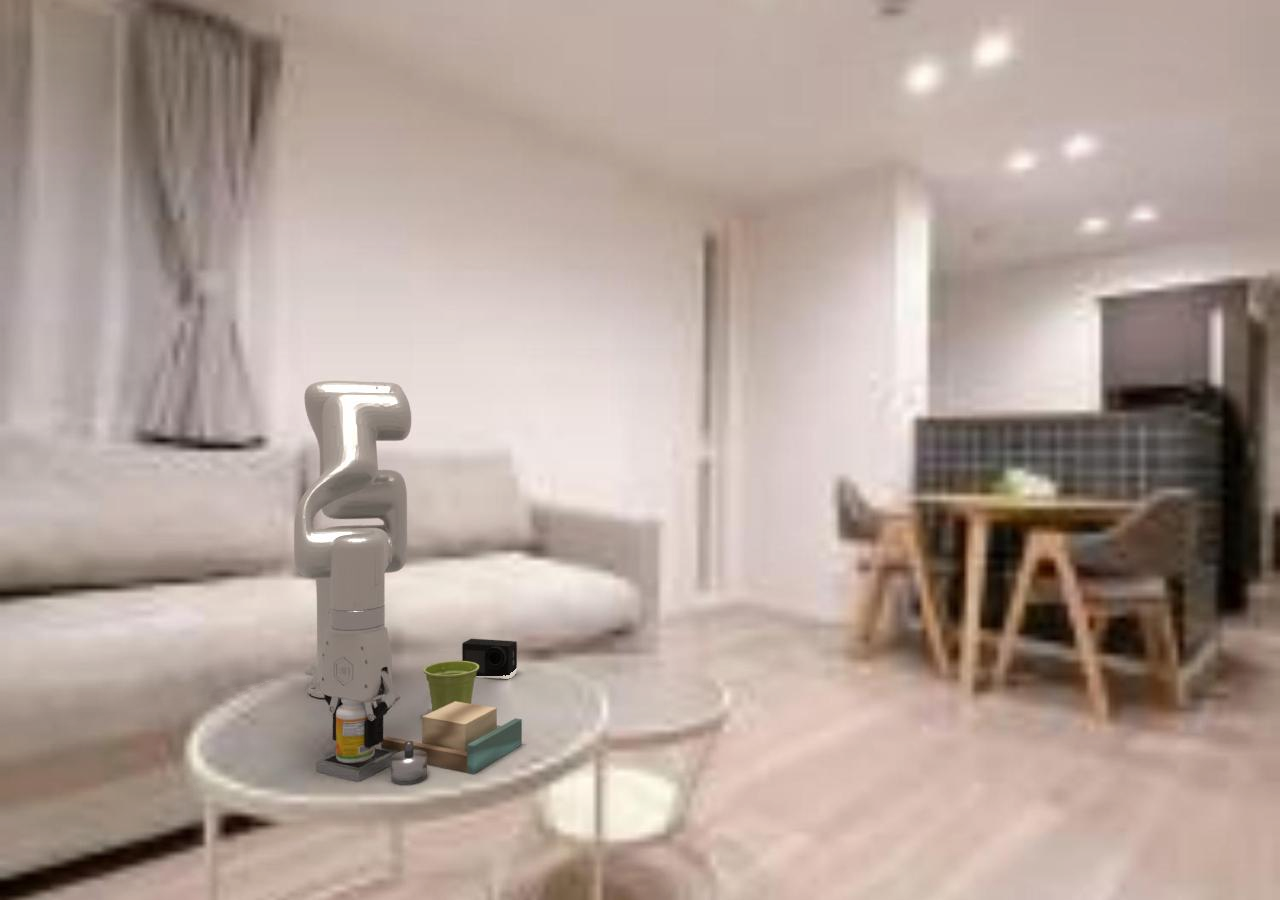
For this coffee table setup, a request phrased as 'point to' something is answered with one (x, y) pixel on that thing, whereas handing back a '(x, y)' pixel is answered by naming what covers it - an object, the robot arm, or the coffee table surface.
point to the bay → (463, 737)
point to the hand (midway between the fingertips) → (358, 739)
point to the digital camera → (491, 656)
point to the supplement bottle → (351, 732)
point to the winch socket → (381, 765)
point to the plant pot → (450, 682)
